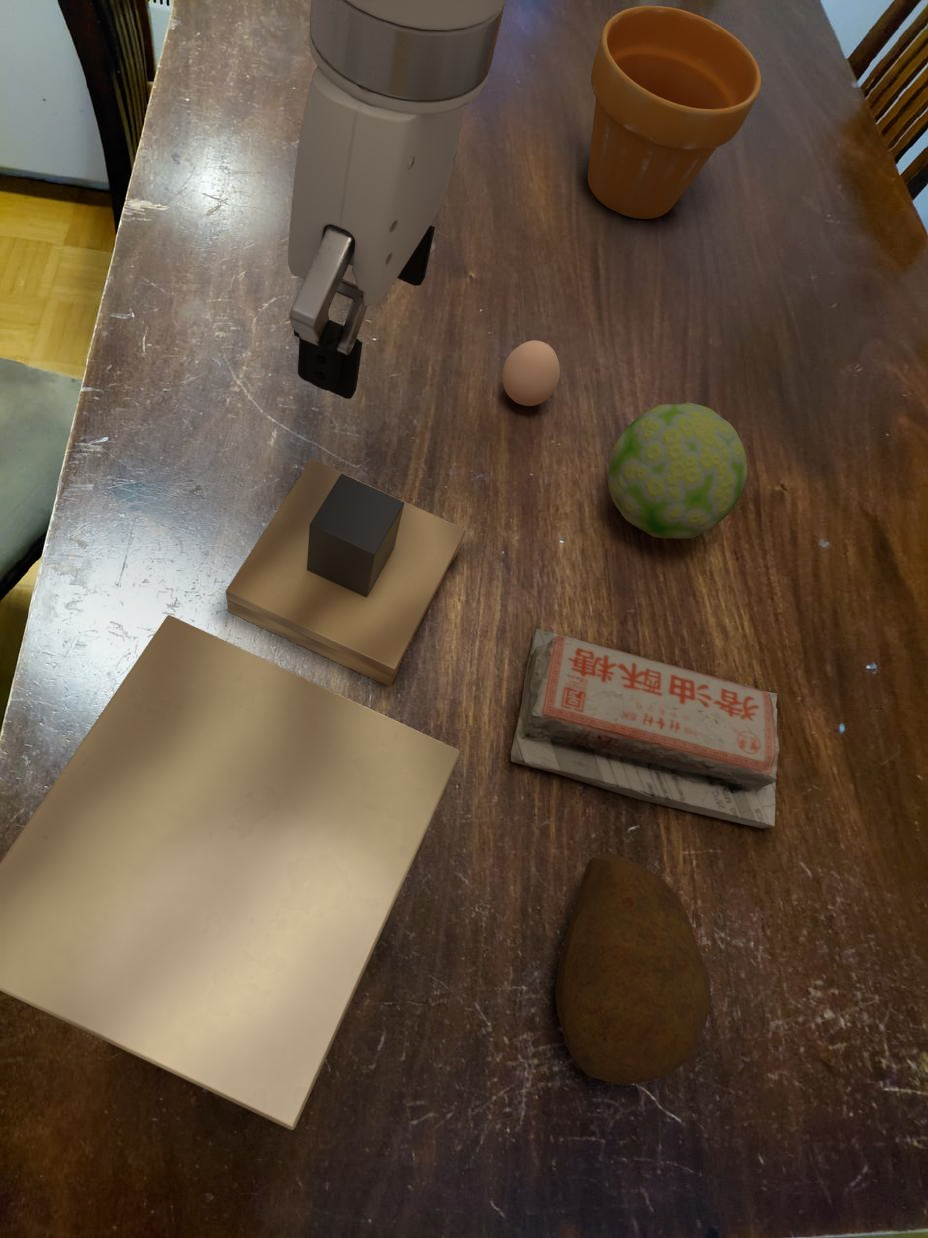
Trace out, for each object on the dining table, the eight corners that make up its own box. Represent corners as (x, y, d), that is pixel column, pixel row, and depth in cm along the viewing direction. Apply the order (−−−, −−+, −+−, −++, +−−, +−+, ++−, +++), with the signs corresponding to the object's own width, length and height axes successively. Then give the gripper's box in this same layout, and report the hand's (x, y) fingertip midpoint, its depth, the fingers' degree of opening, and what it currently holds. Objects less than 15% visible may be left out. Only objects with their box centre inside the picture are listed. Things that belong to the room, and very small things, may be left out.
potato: (696, 905, 58) (760, 878, 50) (661, 1109, 52) (728, 1114, 45) (571, 860, 58) (617, 827, 50) (523, 1061, 52) (565, 1057, 45)
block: (306, 570, 60) (309, 524, 55) (336, 520, 62) (341, 472, 58) (366, 598, 60) (375, 554, 55) (394, 547, 62) (404, 501, 57)
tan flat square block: (227, 611, 61) (225, 590, 59) (309, 482, 67) (311, 457, 64) (389, 687, 61) (395, 669, 58) (458, 551, 67) (466, 529, 64)
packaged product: (523, 742, 56) (548, 603, 60) (505, 766, 60) (530, 634, 65) (801, 815, 57) (805, 673, 62) (765, 834, 61) (771, 700, 66)
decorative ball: (704, 579, 70) (767, 507, 61) (580, 540, 69) (624, 461, 60) (718, 479, 74) (777, 398, 65) (601, 441, 74) (645, 355, 65)
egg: (496, 415, 73) (512, 366, 68) (495, 372, 75) (511, 321, 70) (550, 421, 74) (570, 373, 69) (548, 379, 76) (567, 329, 71)
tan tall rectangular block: (115, 1025, 49) (-67, 959, 23) (219, 839, 55) (167, 612, 28) (283, 1106, 49) (293, 1131, 23) (371, 911, 54) (462, 750, 28)
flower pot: (590, 118, 92) (634, -18, 81) (717, 178, 92) (780, 50, 80) (537, 196, 86) (578, 60, 74) (674, 262, 85) (736, 135, 74)
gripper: (403, -108, 41) (365, 211, 56) (214, 94, 33) (229, 405, 48) (556, -40, 41) (477, 260, 56) (407, 179, 33) (361, 464, 48)
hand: (363, 327), depth 52 cm, fingers open, 9 cm apart
